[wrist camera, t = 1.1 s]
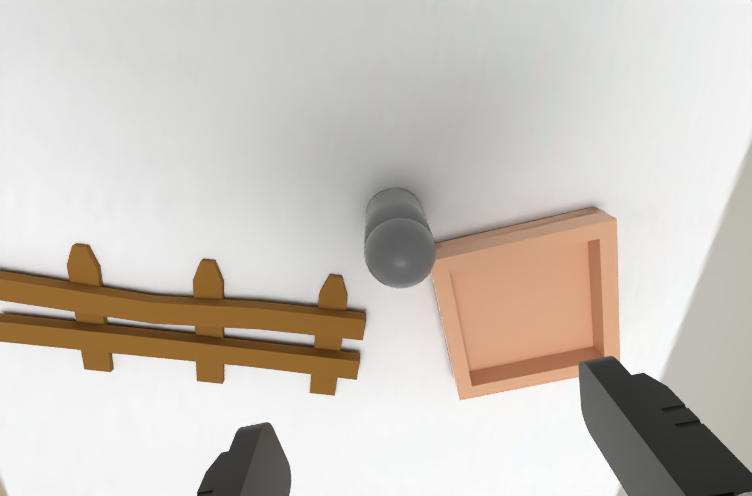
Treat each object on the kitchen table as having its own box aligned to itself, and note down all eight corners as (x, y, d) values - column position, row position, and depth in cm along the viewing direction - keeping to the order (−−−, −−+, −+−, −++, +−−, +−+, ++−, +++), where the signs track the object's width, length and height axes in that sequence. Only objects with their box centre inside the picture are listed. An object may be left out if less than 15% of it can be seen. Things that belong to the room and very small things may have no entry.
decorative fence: (353, 388, 32) (370, 275, 28) (352, 406, 30) (370, 288, 26) (21, 352, 31) (-8, 229, 27) (-1, 370, 29) (-35, 239, 25)
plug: (359, 195, 25) (354, 241, 18) (416, 182, 25) (433, 222, 18) (373, 247, 27) (374, 308, 20) (427, 234, 26) (447, 292, 19)
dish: (424, 245, 27) (429, 261, 24) (594, 206, 26) (616, 219, 24) (453, 376, 31) (459, 400, 29) (601, 346, 30) (620, 368, 28)
